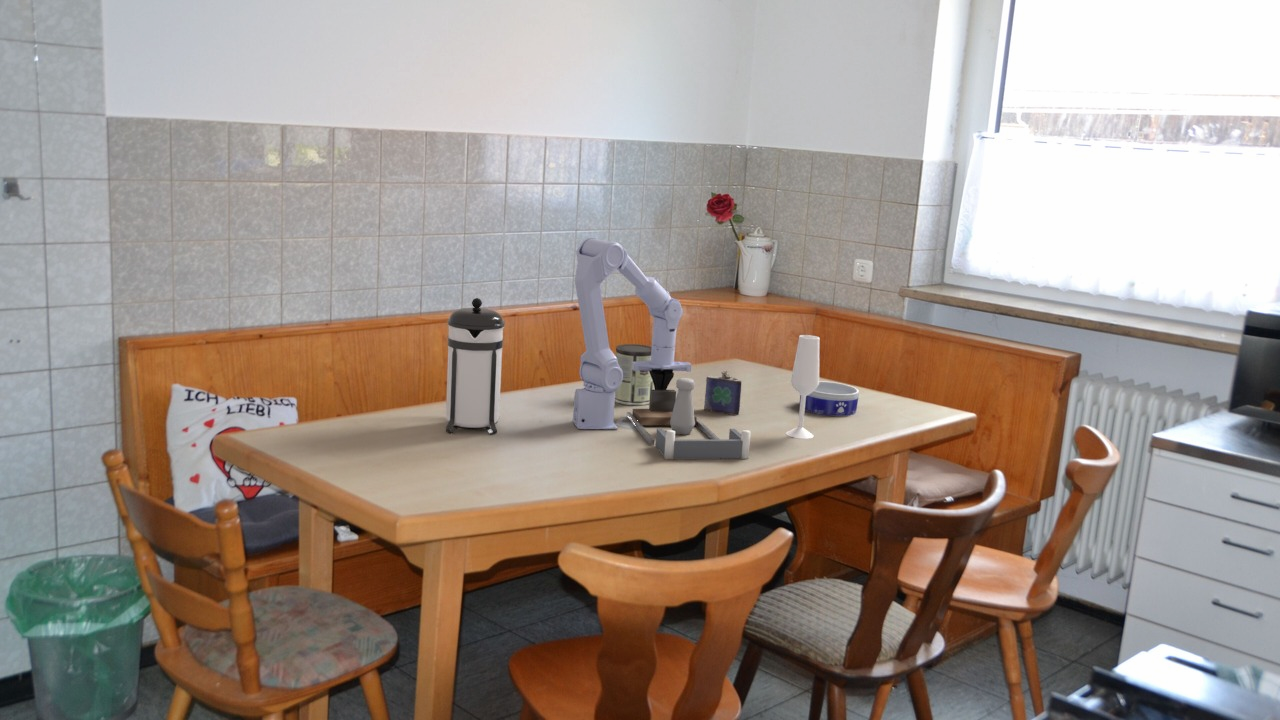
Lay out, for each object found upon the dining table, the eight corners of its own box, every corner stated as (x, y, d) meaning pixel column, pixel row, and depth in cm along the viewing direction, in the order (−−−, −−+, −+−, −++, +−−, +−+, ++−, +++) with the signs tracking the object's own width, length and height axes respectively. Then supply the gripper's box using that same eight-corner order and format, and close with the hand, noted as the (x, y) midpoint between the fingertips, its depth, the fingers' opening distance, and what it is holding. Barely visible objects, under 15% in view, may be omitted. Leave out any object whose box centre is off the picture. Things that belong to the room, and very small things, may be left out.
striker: (639, 425, 262) (641, 396, 260) (632, 416, 270) (634, 388, 268) (696, 425, 265) (698, 397, 264) (686, 416, 273) (689, 389, 271)
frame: (665, 459, 237) (667, 432, 236) (653, 445, 247) (655, 420, 246) (749, 458, 242) (752, 432, 241) (734, 445, 251) (737, 420, 250)
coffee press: (522, 429, 252) (528, 300, 246) (466, 440, 241) (471, 305, 235) (474, 413, 264) (479, 289, 258) (419, 422, 252) (423, 293, 246)
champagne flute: (797, 429, 269) (806, 333, 264) (819, 436, 265) (829, 338, 260) (779, 433, 265) (789, 335, 260) (802, 440, 260) (812, 340, 255)
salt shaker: (691, 437, 256) (696, 382, 253) (667, 434, 257) (671, 380, 254) (695, 430, 262) (699, 377, 259) (671, 427, 263) (676, 375, 260)
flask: (702, 410, 281) (706, 369, 279) (705, 408, 284) (709, 367, 282) (737, 415, 279) (741, 374, 276) (740, 413, 281) (744, 372, 279)
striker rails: (650, 445, 247) (651, 440, 247) (626, 416, 270) (626, 411, 270) (720, 445, 251) (720, 440, 251) (690, 416, 274) (690, 412, 274)
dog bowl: (839, 401, 302) (841, 380, 301) (867, 416, 288) (869, 394, 287) (789, 402, 297) (791, 380, 296) (815, 417, 283) (817, 394, 282)
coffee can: (626, 393, 294) (630, 342, 291) (659, 401, 288) (663, 348, 285) (604, 400, 285) (608, 347, 282) (638, 407, 280) (641, 353, 277)
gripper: (638, 348, 263) (634, 403, 266) (696, 349, 267) (692, 403, 270) (631, 342, 270) (628, 395, 273) (688, 343, 274) (684, 396, 276)
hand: (659, 399), depth 272 cm, fingers closed
